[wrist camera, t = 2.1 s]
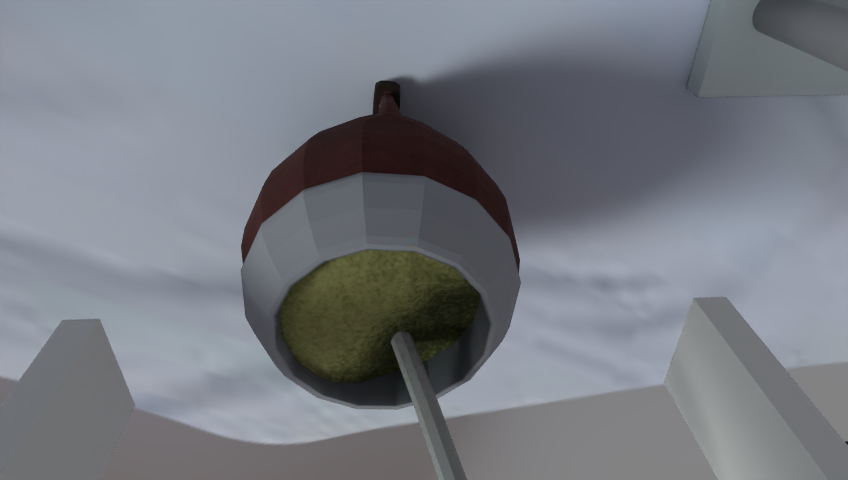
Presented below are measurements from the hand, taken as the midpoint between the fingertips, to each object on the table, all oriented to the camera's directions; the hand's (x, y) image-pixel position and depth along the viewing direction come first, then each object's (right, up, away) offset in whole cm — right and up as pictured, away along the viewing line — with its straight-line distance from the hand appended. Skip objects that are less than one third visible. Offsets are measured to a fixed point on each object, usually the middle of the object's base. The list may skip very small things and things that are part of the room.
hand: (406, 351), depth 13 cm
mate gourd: (-1, +5, +6) cm, 8 cm away
